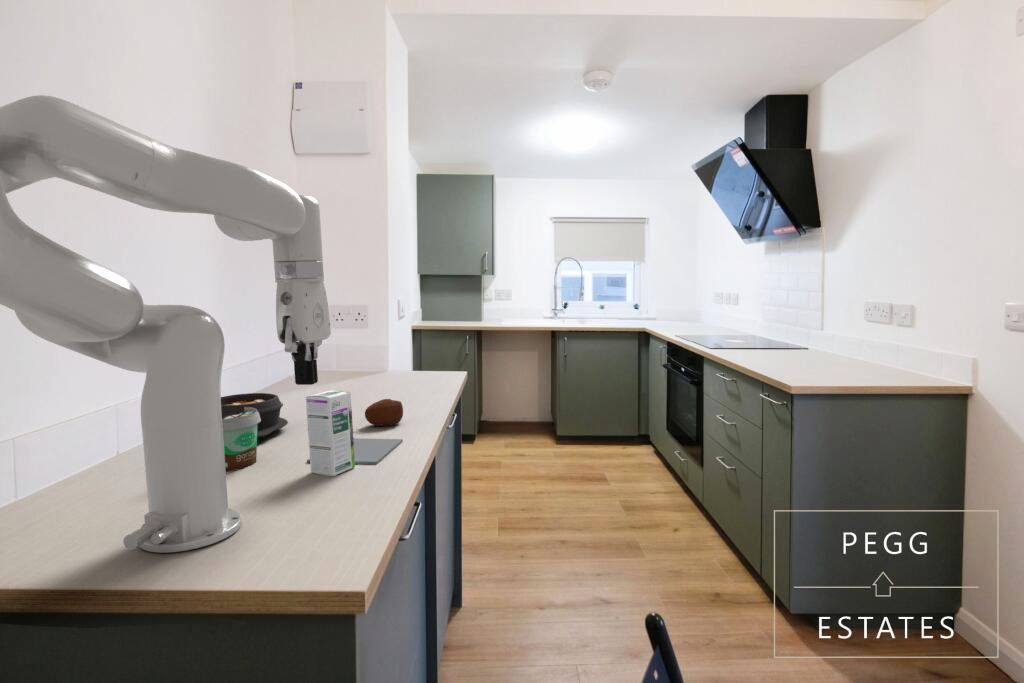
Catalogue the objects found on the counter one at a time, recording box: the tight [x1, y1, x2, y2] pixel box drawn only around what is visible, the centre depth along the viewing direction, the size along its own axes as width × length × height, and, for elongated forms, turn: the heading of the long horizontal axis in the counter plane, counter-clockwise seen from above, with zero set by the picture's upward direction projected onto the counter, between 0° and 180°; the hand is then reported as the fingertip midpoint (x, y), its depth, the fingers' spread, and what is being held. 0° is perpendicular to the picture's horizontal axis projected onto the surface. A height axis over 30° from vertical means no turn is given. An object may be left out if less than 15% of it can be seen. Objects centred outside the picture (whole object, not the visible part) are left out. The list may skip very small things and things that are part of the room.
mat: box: [306, 437, 404, 465], centre depth 119 cm, size 16×14×1 cm
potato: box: [364, 398, 404, 427], centre depth 141 cm, size 7×9×6 cm
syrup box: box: [305, 390, 356, 477], centre depth 107 cm, size 6×6×14 cm
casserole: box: [221, 392, 289, 439], centre depth 135 cm, size 25×19×8 cm
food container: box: [222, 407, 261, 472], centre depth 111 cm, size 12×6×10 cm, turn 168°
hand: (306, 383), depth 97 cm, fingers closed
